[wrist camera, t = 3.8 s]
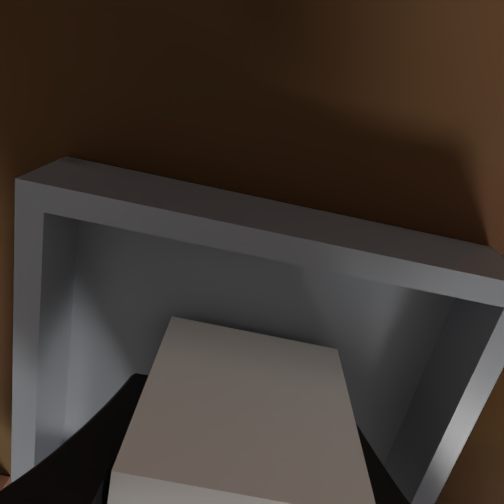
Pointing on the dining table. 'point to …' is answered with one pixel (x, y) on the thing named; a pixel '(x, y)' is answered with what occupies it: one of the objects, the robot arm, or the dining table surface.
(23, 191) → the tray
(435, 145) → the dining table surface
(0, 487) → the bin
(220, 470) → the white cube
